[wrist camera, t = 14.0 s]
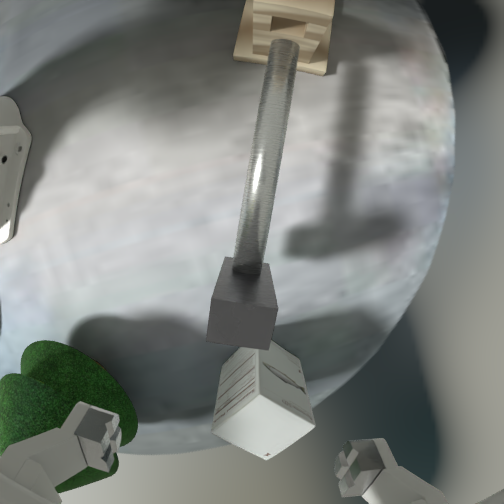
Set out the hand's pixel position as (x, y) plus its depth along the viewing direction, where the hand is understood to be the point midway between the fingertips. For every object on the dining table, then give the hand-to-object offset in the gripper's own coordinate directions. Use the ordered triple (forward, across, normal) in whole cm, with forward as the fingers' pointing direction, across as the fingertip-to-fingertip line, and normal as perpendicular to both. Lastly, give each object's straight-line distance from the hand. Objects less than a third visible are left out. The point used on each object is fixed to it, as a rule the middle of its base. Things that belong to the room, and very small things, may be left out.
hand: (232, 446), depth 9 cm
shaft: (+20, 0, -10) cm, 22 cm away
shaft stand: (+26, 0, -31) cm, 40 cm away
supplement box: (+26, -4, +13) cm, 29 cm away
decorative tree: (+26, +20, +22) cm, 39 cm away
